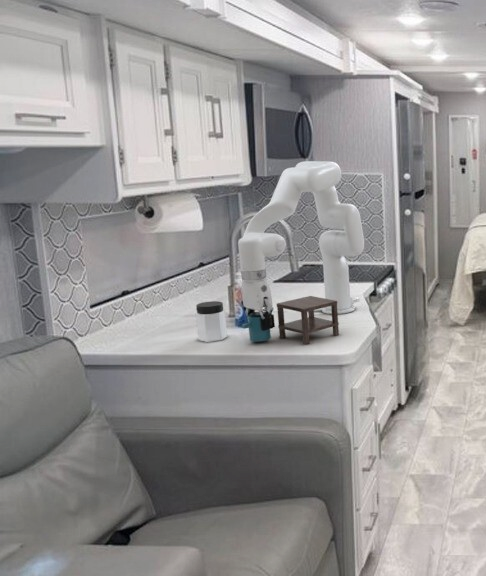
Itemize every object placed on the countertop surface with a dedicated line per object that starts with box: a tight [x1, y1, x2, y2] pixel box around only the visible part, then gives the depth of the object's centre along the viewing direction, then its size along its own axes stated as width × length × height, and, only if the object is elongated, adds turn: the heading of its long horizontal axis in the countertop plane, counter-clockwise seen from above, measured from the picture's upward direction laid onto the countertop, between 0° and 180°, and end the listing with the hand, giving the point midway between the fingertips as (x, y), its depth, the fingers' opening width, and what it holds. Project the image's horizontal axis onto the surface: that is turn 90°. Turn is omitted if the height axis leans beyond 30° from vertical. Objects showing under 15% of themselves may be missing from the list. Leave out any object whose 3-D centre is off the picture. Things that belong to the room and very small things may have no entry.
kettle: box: [241, 311, 276, 342], centre depth 220 cm, size 11×7×9 cm, turn 145°
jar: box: [195, 300, 228, 343], centre depth 224 cm, size 9×8×12 cm
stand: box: [276, 295, 340, 345], centre depth 226 cm, size 14×14×12 cm
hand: (259, 327), depth 220 cm, fingers closed on kettle, 6 cm apart
